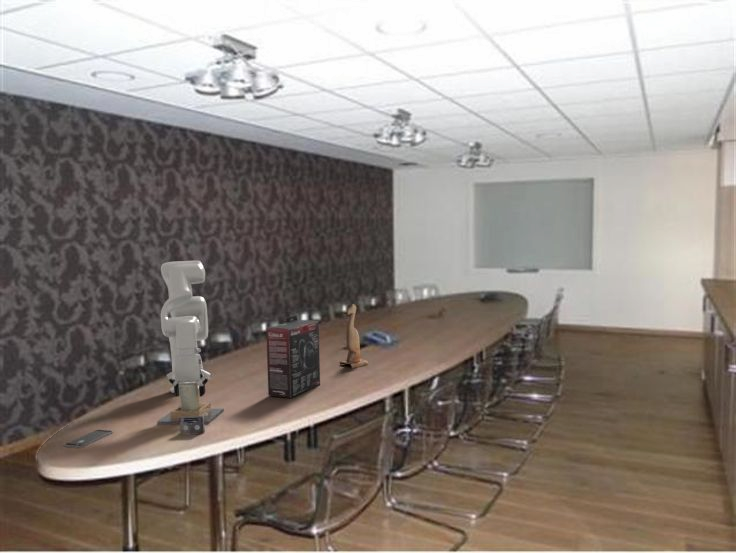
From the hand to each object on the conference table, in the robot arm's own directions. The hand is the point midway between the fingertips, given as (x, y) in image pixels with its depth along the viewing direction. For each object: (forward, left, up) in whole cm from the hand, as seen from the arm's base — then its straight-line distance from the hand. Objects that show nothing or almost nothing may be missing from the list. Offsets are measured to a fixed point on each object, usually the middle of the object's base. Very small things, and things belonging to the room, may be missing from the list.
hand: (190, 395), depth 235 cm
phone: (+25, -27, -9) cm, 38 cm away
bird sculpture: (-87, +51, -9) cm, 101 cm away
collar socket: (0, 0, -9) cm, 9 cm away
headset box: (-38, +32, -9) cm, 50 cm away
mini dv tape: (+18, +8, -9) cm, 22 cm away
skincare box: (0, 0, -8) cm, 8 cm away
